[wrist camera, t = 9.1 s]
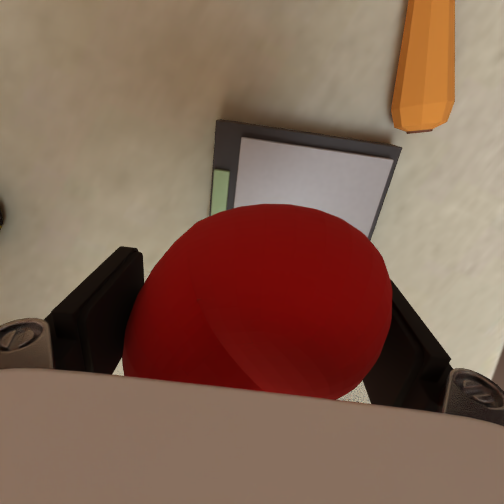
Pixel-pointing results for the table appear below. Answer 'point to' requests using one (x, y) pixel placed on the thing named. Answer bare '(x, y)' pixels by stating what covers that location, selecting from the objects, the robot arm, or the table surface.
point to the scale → (301, 171)
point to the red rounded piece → (263, 305)
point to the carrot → (425, 67)
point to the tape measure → (1, 219)
